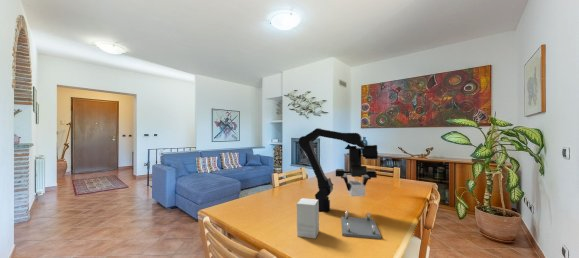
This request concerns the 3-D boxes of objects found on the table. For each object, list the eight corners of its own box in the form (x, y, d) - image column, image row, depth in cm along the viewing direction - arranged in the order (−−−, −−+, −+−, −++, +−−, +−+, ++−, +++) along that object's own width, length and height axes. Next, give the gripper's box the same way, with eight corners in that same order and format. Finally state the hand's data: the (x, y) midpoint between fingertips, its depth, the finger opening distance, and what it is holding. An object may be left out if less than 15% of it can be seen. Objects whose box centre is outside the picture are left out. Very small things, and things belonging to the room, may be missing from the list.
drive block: (351, 196, 103) (351, 185, 103) (346, 190, 113) (346, 180, 113) (365, 196, 103) (364, 185, 103) (358, 190, 113) (358, 180, 113)
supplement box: (319, 230, 90) (319, 199, 90) (315, 239, 83) (315, 205, 83) (301, 228, 92) (301, 197, 92) (296, 236, 85) (296, 203, 85)
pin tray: (342, 235, 85) (342, 225, 85) (341, 218, 102) (341, 209, 102) (381, 239, 83) (381, 228, 83) (373, 221, 99) (373, 212, 99)
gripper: (335, 160, 102) (335, 194, 102) (378, 161, 99) (379, 196, 98) (335, 157, 113) (335, 188, 113) (374, 158, 110) (374, 190, 109)
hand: (355, 191), depth 108 cm, fingers closed on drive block, 6 cm apart
